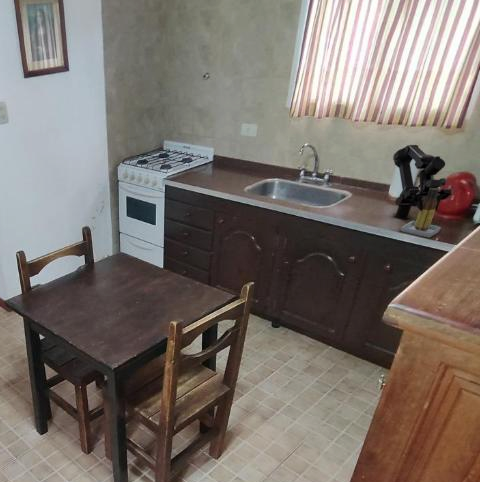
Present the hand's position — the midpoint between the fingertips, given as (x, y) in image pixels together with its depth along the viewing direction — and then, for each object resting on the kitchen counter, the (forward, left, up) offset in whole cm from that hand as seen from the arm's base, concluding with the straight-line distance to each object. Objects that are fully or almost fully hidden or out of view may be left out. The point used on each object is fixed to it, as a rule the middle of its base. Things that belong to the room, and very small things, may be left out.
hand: (428, 210), depth 226 cm
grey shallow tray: (-1, -1, -11) cm, 11 cm away
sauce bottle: (-1, -1, -10) cm, 10 cm away
